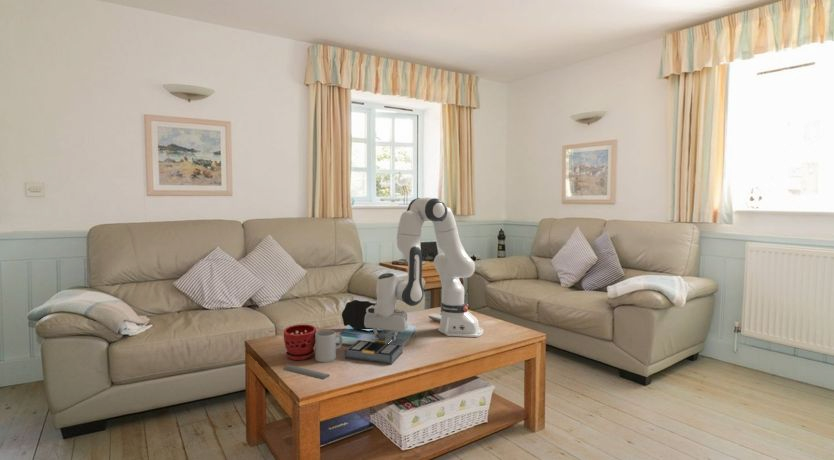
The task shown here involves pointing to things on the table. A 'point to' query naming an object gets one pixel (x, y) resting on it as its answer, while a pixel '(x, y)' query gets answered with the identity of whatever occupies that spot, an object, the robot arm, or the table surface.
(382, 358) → the rack
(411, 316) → the table surface
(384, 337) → the grey rectangular block
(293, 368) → the half round rod
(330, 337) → the mug
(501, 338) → the table surface
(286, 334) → the plant pot
